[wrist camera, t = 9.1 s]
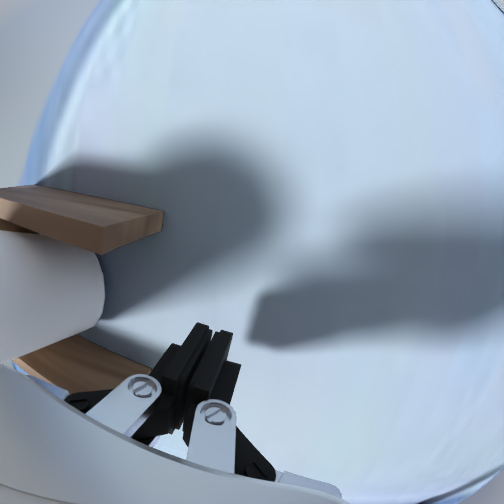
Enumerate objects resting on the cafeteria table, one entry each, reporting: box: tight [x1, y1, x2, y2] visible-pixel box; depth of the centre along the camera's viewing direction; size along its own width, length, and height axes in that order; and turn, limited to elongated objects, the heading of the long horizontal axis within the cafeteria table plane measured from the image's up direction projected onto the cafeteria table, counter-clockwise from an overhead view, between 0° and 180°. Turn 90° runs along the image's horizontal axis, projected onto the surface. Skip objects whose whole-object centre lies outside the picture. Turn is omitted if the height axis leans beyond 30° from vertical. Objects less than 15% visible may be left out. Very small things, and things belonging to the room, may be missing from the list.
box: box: [0, 185, 164, 394], centre depth 12 cm, size 11×11×5 cm
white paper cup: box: [0, 230, 105, 364], centre depth 9 cm, size 7×7×10 cm
